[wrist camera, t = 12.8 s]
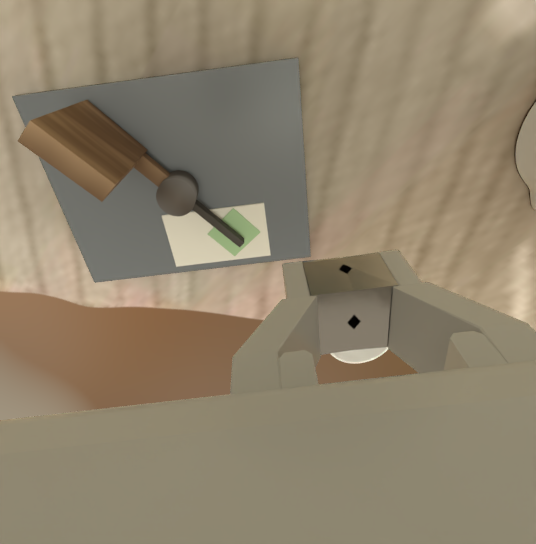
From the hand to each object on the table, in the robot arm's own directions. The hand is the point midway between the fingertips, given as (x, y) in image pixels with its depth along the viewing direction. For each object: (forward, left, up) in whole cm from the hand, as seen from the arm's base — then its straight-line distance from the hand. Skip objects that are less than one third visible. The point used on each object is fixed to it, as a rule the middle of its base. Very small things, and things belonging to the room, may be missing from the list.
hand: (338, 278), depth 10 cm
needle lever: (+10, +9, -32) cm, 35 cm away
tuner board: (+9, +10, -33) cm, 36 cm away
